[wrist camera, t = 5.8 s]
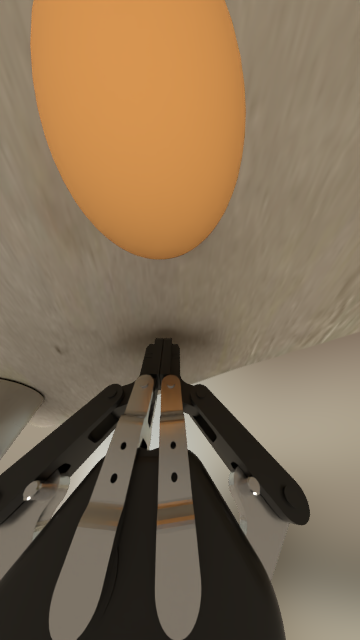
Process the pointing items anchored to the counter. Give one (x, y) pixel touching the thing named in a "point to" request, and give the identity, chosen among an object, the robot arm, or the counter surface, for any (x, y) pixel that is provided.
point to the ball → (142, 114)
